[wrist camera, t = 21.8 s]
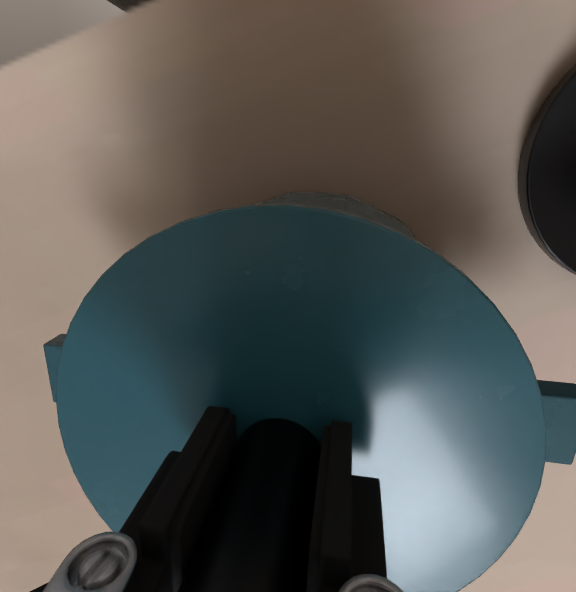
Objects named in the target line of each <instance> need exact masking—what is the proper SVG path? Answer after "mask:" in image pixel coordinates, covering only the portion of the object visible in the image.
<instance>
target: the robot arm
mask: <svg viewBox="0 0 576 592" xmlns="http://www.w3.org/2000/svg"><path fill="white" fill-rule="evenodd" d="M235 450H236V416H235V414H230V411H229V408H225V407H216V406H208V407H207V408H206V410H205V412H204V414H203V415H202V417H201V419H200V420H199V422H198V424H197V425H196V427H195V429H194V431H193V432H192V434H191V436H190V437H189V439H188V441H187V442H186V444H185V446H184V447H183V449H182V451H181V452H178V451H171V452H170V453H169V454H168V455H167V456H166V458H165V460H164V461H163V463H162V464H161V466H160V467H159V469H158V471H157V472H156V474H155V475H154V477H153V479H152V480H151V482H150V483H149V485H148V487H147V488H146V490H145V491H144V493H143V494H142V496H141V498H140V499H139V501H138V502H137V504H136V506H135V507H134V509H133V510H132V512H131V514H130V515H129V517H128V518H127V520H126V521H125V523H124V525H123V526H122V528H121V529H120V531H119V532H104V533H100V534H97V535H94V536H92V537H90V538H88V539H86V540H84V541H82V542H81V543H80V544H78V545H77V546H76V547H75V548H73V549H72V551H71V552H70V553H69V554H68V555H67V556H66V558H65V559H64V560H63V562H62V563H61V565H60V566H59V568H58V569H57V571H56V572H55V574H54V575H53V577H52V578H51V580H50V581H49V582H48V583H46V584H44V585H42V586H40V587H38V588H36V589H34V590H32V591H30V592H178V590H179V588H180V585H181V583H182V580H183V578H184V575H185V573H186V570H187V568H188V565H189V563H190V561H191V558H192V556H193V553H194V551H195V548H196V546H197V543H198V541H199V538H200V536H201V533H202V531H203V529H204V526H205V524H206V521H207V519H208V516H209V514H210V511H211V509H212V506H213V504H214V502H215V499H216V497H217V494H218V492H219V489H220V487H221V484H222V482H223V479H224V477H225V475H226V472H227V470H228V467H229V465H230V462H231V460H232V457H233V455H234V452H235ZM306 592H403V591H402V590H401V589H400V588H399V587H398V586H397V585H396V584H394V583H393V582H391V581H390V580H389V579H387V568H386V555H385V542H384V529H383V516H382V503H381V490H380V480H379V478H372V477H365V476H357V475H352V422H344V421H336V420H332V426H331V425H324V427H323V436H322V444H321V453H320V461H319V470H318V478H317V487H316V496H315V504H314V513H313V521H312V530H311V538H310V548H309V560H308V575H307V591H306Z"/></svg>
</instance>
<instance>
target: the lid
mask: <svg viewBox="0 0 576 592" xmlns="http://www.w3.org/2000/svg"><path fill="white" fill-rule="evenodd" d="M56 404H57V413H58V423H59V428H60V432H61V436H62V440H63V444H64V448H65V451H66V454H67V456H68V459H69V461H70V464H71V467H72V469H73V472H74V474H75V476H76V478H77V480H78V481H79V483H80V485H81V487H82V489H83V491H84V493H85V495H86V496H87V498H88V499H89V501H90V502H91V504H92V505H93V507H94V508H95V510H96V511H97V512H98V514H99V515H100V517H101V518H102V519H103V520H104V521H105V523H106V524H107V525H108V526H109V527H110V529H111V530H112V531H113V532H119V531H120V529H121V528H122V526H123V525H124V523H125V521H126V520H127V518H128V517H129V515H130V514H131V512H132V510H133V509H134V507H135V506H136V504H137V502H138V501H139V499H140V498H141V496H142V494H143V493H144V491H145V490H146V488H147V487H148V485H149V483H150V482H151V480H152V479H153V477H154V475H155V474H156V472H157V471H158V469H159V467H160V466H161V464H162V463H163V461H164V460H165V458H166V456H167V455H168V454H169V453H170V452H171V451H178V452H181V451H182V449H183V447H184V446H185V444H186V442H187V441H188V439H189V437H190V436H191V434H192V432H193V431H194V429H195V427H196V425H197V424H198V422H199V420H200V419H201V417H202V415H203V414H204V412H205V410H206V408H207V407H208V406H216V407H225V408H229V411H230V414H235V416H236V450H235V452H234V455H233V457H232V460H231V462H230V465H229V467H228V470H227V472H226V475H225V477H224V479H223V482H222V484H221V487H220V489H219V492H218V494H217V497H216V499H215V502H214V504H213V506H212V509H211V511H210V514H209V516H208V519H207V521H206V524H205V526H204V529H203V531H202V533H201V536H200V538H199V541H198V543H197V546H196V548H195V551H194V553H193V556H192V558H191V561H190V563H189V565H188V568H187V570H186V573H185V575H184V578H183V580H182V583H181V585H180V588H179V590H178V592H306V591H307V575H308V560H309V548H310V538H311V530H312V521H313V513H314V504H315V496H316V487H317V478H318V470H319V461H320V453H321V444H322V436H323V427H324V425H331V426H332V420H336V421H344V422H352V475H357V476H365V477H372V478H379V480H380V490H381V503H382V516H383V529H384V542H385V555H386V568H387V579H389V580H390V581H391V582H393V583H394V584H396V585H397V586H398V587H399V588H400V589H401V590H402V591H403V592H458V591H460V590H461V589H462V588H464V587H465V586H467V585H468V584H470V583H471V582H472V581H474V580H475V579H477V578H478V577H480V576H481V575H482V574H483V573H484V572H485V571H486V570H487V569H488V568H489V567H490V566H492V565H493V564H494V563H495V562H496V561H497V560H498V559H499V558H500V557H501V556H502V554H503V553H504V552H505V551H506V549H507V548H508V547H509V546H510V545H511V543H512V542H513V541H514V540H515V538H516V537H517V535H518V534H519V532H520V530H521V528H522V527H523V525H524V523H525V521H526V520H527V518H528V516H529V515H530V513H531V510H532V507H533V505H534V502H535V499H536V497H537V494H538V491H539V489H540V485H541V480H542V475H543V470H544V465H545V460H546V420H545V414H544V407H543V400H542V395H541V392H540V389H539V386H538V383H537V379H536V376H535V373H534V370H533V367H532V364H531V362H530V360H529V358H528V356H527V354H526V353H525V351H524V349H523V347H522V345H521V343H520V341H519V339H518V337H517V335H516V333H515V332H514V331H513V329H512V328H511V326H510V325H509V324H508V322H507V321H506V320H505V318H504V317H503V315H502V314H501V313H500V311H499V310H498V309H497V307H496V306H495V304H494V303H493V302H492V301H491V300H490V299H489V298H488V297H487V296H486V295H485V294H484V293H483V292H482V291H481V290H480V289H479V288H478V287H477V286H476V285H475V284H474V283H473V282H472V281H471V280H470V279H469V278H468V277H467V276H466V275H465V274H464V273H463V272H462V271H461V270H459V269H458V268H457V267H455V266H454V265H453V264H452V263H450V262H449V261H448V260H446V259H445V258H444V257H442V256H441V255H440V254H439V253H437V252H436V251H435V250H433V249H431V248H430V247H428V246H426V245H424V244H423V243H421V242H419V241H417V240H415V239H414V238H412V237H410V236H408V235H407V234H405V233H403V232H401V231H399V230H397V229H394V228H392V227H389V226H387V225H384V224H382V223H379V222H377V221H374V220H372V219H369V218H367V217H364V216H360V215H356V214H352V213H348V212H344V211H340V210H336V209H332V208H328V207H319V206H310V205H302V204H293V203H280V204H251V205H245V206H239V207H232V208H226V209H220V210H216V211H213V212H210V213H207V214H203V215H200V216H197V217H194V218H191V219H187V220H185V221H182V222H179V223H177V224H175V225H173V226H171V227H169V228H167V229H165V230H163V231H161V232H158V233H156V234H154V235H152V236H150V237H149V238H147V239H146V240H144V241H143V242H141V243H140V244H138V245H137V246H135V247H134V248H132V249H131V250H129V251H128V252H127V253H125V254H124V255H123V256H122V257H120V258H119V259H118V260H117V261H116V262H115V263H114V264H113V265H112V266H111V267H110V268H109V269H108V270H107V271H105V272H104V273H103V274H102V275H101V277H100V278H99V279H98V281H97V282H96V283H95V284H94V286H93V287H92V288H91V290H90V291H89V292H88V293H87V295H86V296H85V297H84V299H83V301H82V303H81V305H80V306H79V308H78V310H77V312H76V314H75V316H74V317H73V319H72V321H71V323H70V326H69V329H68V332H67V334H66V337H65V340H64V343H63V346H62V349H61V354H60V360H59V365H58V370H57V385H56Z"/></svg>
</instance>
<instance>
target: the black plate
mask: <svg viewBox="0 0 576 592" xmlns="http://www.w3.org/2000/svg"><path fill="white" fill-rule="evenodd" d="M518 192H519V199H520V206H521V210H522V213H523V217H524V220H525V222H526V225H527V227H528V229H529V231H530V233H531V235H532V236H533V238H534V239H535V241H536V242H537V244H538V245H539V247H540V248H541V249H542V250H543V251H544V252H545V253H546V254H547V255H548V256H549V257H550V258H551V259H552V260H554V261H555V262H556V263H557V264H559V265H560V266H561V267H563V268H565V269H566V270H568V271H570V272H572V273H573V274H575V275H576V65H575V66H573V67H572V68H571V69H570V70H569V71H568V72H567V73H566V74H565V76H564V77H563V78H562V79H561V80H560V81H559V82H558V84H557V85H556V86H555V87H554V88H553V90H552V91H551V93H550V94H549V95H548V97H547V98H546V100H545V101H544V103H543V104H542V106H541V107H540V109H539V111H538V113H537V115H536V117H535V118H534V120H533V122H532V125H531V127H530V130H529V132H528V134H527V137H526V139H525V143H524V147H523V150H522V154H521V158H520V165H519V173H518Z"/></svg>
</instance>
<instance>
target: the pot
mask: <svg viewBox="0 0 576 592" xmlns="http://www.w3.org/2000/svg"><path fill="white" fill-rule="evenodd" d="M280 203H293V204H302V205H310V206H319V207H328V208H332V209H336V210H340V211H344V212H348V213H352V214H356V215H360V216H364V217H367V218H369V219H372V220H374V221H377V222H379V223H382V224H384V225H387V226H389V227H392V228H394V229H397V230H399V231H401V232H403V233H405V234H407V235H408V236H410V237H412V238H414V239H415V240H417V239H416V238H415V237H414V236H413V235H412V233H411V232H410V231H409V230H408V229H407V228H406V226H405V225H404V224H403V223H402V222H401V221H400V220H399V219H397V218H395V217H392V216H390V215H388V214H386V213H384V212H383V211H381V210H379V209H377V208H376V207H374V206H372V205H369V204H367V203H364V202H362V201H359V200H357V199H355V198H353V197H351V196H349V195H343V194H328V193H319V192H314V193H297V192H289V193H285V194H282V195H280V196H277V197H274V198H272V199H269V200H266V201H263V202H261V203H259V204H280ZM417 241H418V240H417ZM65 337H66V334H60V335H58V336H57V337H55V338H53V339H52V340H50V341H49V342H47V343H45V344H44V352H45V357H46V363H47V368H48V374H49V379H50V385H51V390H52V396H53V401H54V402H56V385H57V370H58V365H59V360H60V354H61V349H62V346H63V343H64V340H65ZM537 383H538V386H539V389H540V392H541V395H542V400H543V407H544V414H545V420H546V460H545V462H553V463H561V464H569V465H571V464H572V462H573V459H574V456H575V453H576V384H573V383H563V382H553V381H542V380H537Z"/></svg>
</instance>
